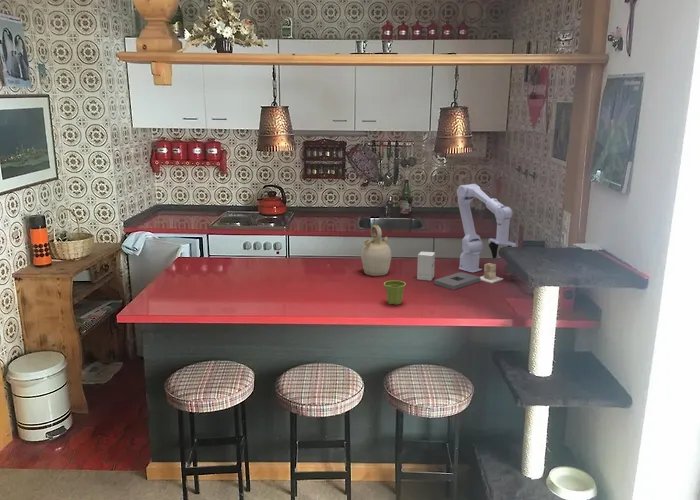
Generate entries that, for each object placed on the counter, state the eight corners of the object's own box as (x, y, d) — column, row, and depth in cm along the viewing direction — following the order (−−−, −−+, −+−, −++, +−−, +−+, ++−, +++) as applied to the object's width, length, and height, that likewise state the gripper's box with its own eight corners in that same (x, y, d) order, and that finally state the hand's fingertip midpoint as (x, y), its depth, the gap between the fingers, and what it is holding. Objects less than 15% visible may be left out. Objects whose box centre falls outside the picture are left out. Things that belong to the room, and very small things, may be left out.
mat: (476, 279, 288) (476, 277, 288) (487, 275, 294) (488, 274, 294) (491, 283, 282) (491, 282, 282) (503, 279, 287) (503, 278, 287)
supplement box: (431, 281, 286) (432, 255, 283) (416, 279, 288) (417, 254, 285) (434, 276, 293) (435, 252, 289) (419, 275, 295) (420, 251, 292)
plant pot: (379, 301, 258) (379, 282, 256) (397, 297, 263) (397, 279, 260) (391, 307, 250) (391, 288, 248) (409, 303, 255) (409, 284, 253)
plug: (483, 278, 288) (484, 264, 286) (488, 276, 290) (489, 262, 288) (490, 280, 285) (491, 266, 283) (495, 278, 287) (496, 264, 286)
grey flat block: (433, 283, 281) (434, 279, 281) (460, 275, 294) (461, 271, 293) (453, 290, 272) (453, 285, 272) (480, 281, 285) (480, 277, 284)
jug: (365, 278, 291) (365, 228, 285) (357, 269, 306) (357, 222, 299) (395, 275, 294) (395, 227, 288) (386, 267, 309) (386, 220, 303)
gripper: (485, 231, 285) (483, 258, 288) (510, 236, 274) (508, 264, 278) (494, 228, 289) (492, 255, 293) (519, 233, 279) (517, 261, 282)
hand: (501, 259), depth 286 cm, fingers open, 7 cm apart
